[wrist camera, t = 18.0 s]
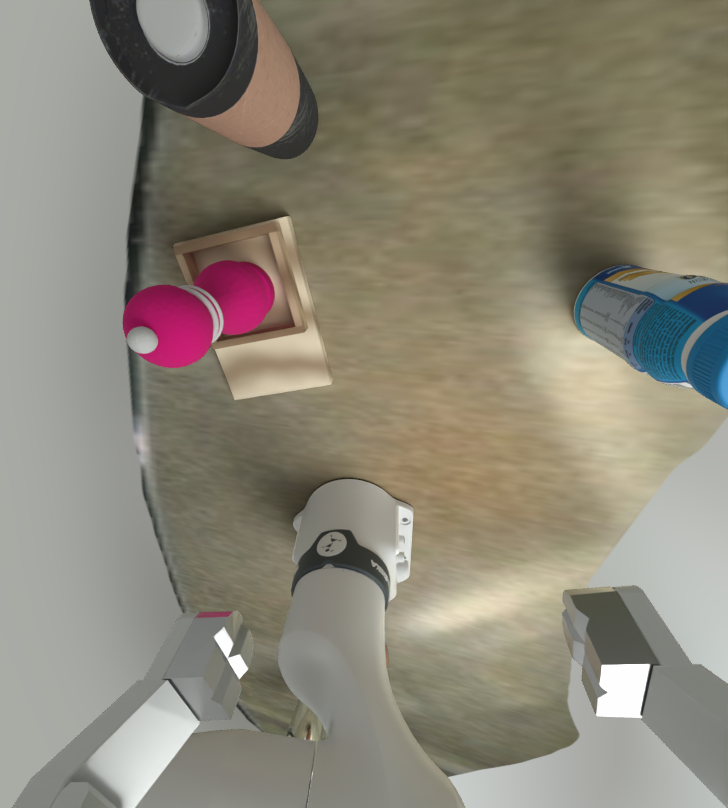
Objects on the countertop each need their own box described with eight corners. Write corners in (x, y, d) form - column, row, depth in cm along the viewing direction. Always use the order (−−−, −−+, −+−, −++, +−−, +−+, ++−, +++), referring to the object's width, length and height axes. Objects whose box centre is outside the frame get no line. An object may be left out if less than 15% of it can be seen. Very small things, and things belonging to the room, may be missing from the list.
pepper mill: (209, 305, 43) (72, 366, 25) (226, 244, 39) (84, 263, 22) (267, 333, 43) (176, 412, 26) (288, 275, 40) (202, 319, 23)
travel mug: (291, 42, 33) (164, -171, 15) (336, 131, 36) (275, 42, 18) (226, 99, 35) (49, -27, 17) (274, 179, 38) (163, 142, 20)
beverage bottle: (554, 303, 41) (676, 368, 23) (627, 244, 38) (834, 265, 20) (596, 355, 43) (737, 451, 25) (669, 303, 40) (889, 370, 22)
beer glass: (337, 682, 78) (325, 777, 65) (316, 692, 81) (300, 786, 67) (313, 666, 76) (295, 761, 63) (292, 678, 79) (270, 771, 65)
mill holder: (333, 379, 47) (328, 391, 44) (239, 395, 49) (228, 407, 46) (290, 216, 39) (280, 216, 36) (180, 243, 41) (162, 244, 38)
